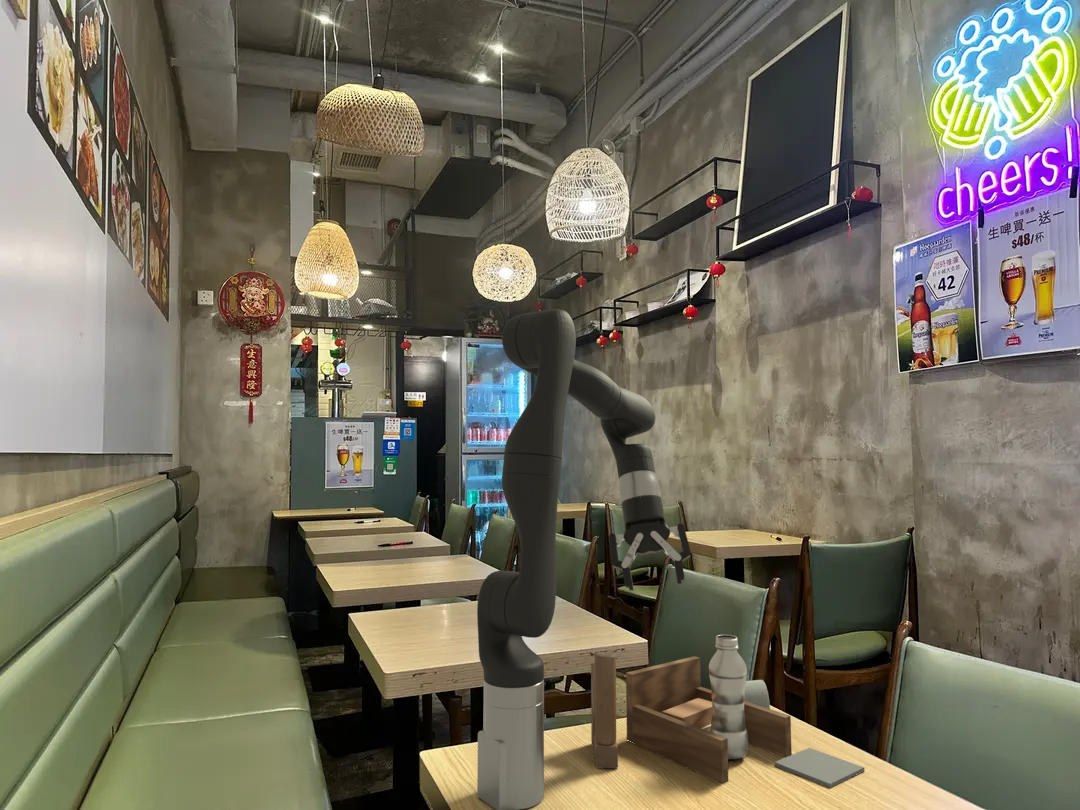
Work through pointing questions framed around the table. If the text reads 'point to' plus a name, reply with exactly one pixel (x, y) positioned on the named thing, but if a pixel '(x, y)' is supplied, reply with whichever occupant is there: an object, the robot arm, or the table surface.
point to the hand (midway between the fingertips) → (655, 587)
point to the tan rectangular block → (693, 713)
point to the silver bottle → (729, 695)
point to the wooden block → (604, 710)
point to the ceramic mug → (757, 693)
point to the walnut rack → (685, 741)
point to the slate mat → (819, 767)
